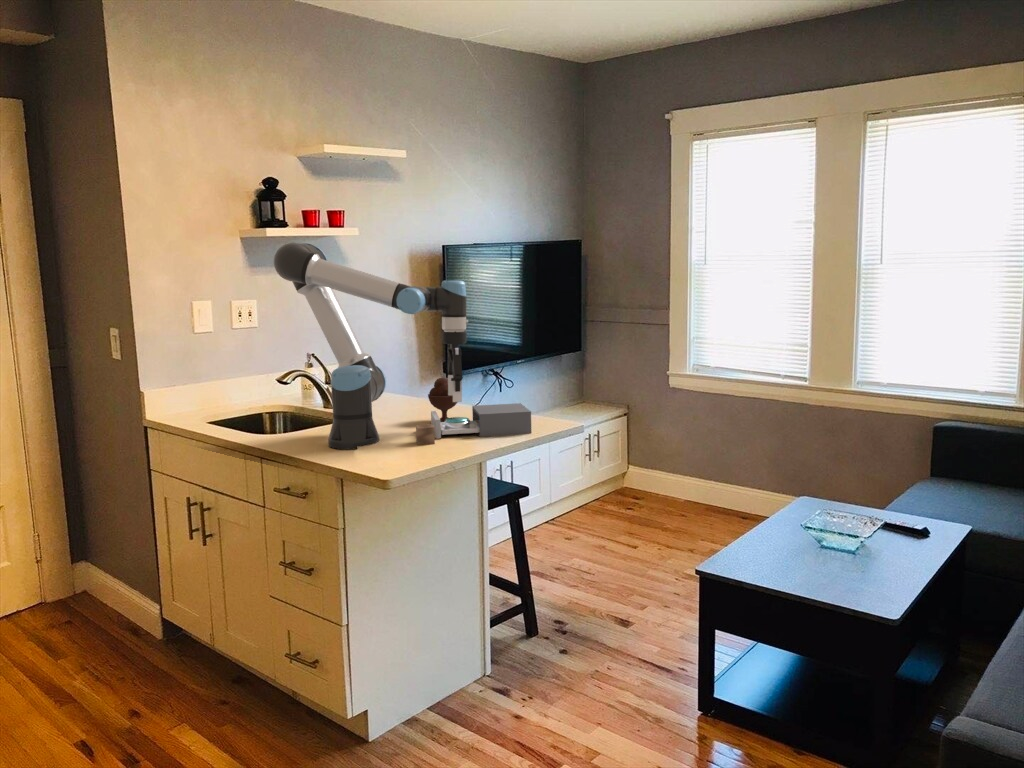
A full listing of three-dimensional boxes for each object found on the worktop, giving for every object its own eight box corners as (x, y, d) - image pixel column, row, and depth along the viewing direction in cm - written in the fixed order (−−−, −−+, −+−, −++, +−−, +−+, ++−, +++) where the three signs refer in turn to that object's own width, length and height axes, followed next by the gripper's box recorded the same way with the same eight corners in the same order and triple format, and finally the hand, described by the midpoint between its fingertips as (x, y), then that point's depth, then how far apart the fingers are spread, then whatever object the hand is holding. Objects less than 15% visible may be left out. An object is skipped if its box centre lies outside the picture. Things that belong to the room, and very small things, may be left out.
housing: (480, 436, 253) (479, 414, 252) (472, 426, 270) (472, 405, 269) (531, 433, 256) (531, 411, 255) (521, 424, 272) (520, 403, 271)
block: (417, 444, 243) (417, 428, 243) (416, 441, 248) (415, 425, 248) (434, 443, 244) (434, 427, 244) (433, 440, 249) (432, 424, 248)
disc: (445, 430, 256) (445, 421, 255) (443, 426, 263) (443, 417, 263) (471, 429, 257) (471, 420, 256) (468, 424, 265) (468, 416, 264)
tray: (436, 438, 251) (435, 419, 250) (431, 428, 267) (430, 411, 266) (488, 435, 254) (487, 417, 253) (480, 426, 270) (480, 408, 269)
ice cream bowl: (422, 423, 278) (420, 379, 276) (440, 418, 287) (438, 375, 285) (449, 425, 273) (447, 380, 271) (466, 420, 282) (465, 376, 280)
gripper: (471, 333, 244) (471, 404, 247) (461, 327, 269) (461, 392, 272) (446, 333, 243) (446, 405, 246) (438, 328, 267) (439, 392, 270)
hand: (454, 398), depth 259 cm, fingers open, 13 cm apart
